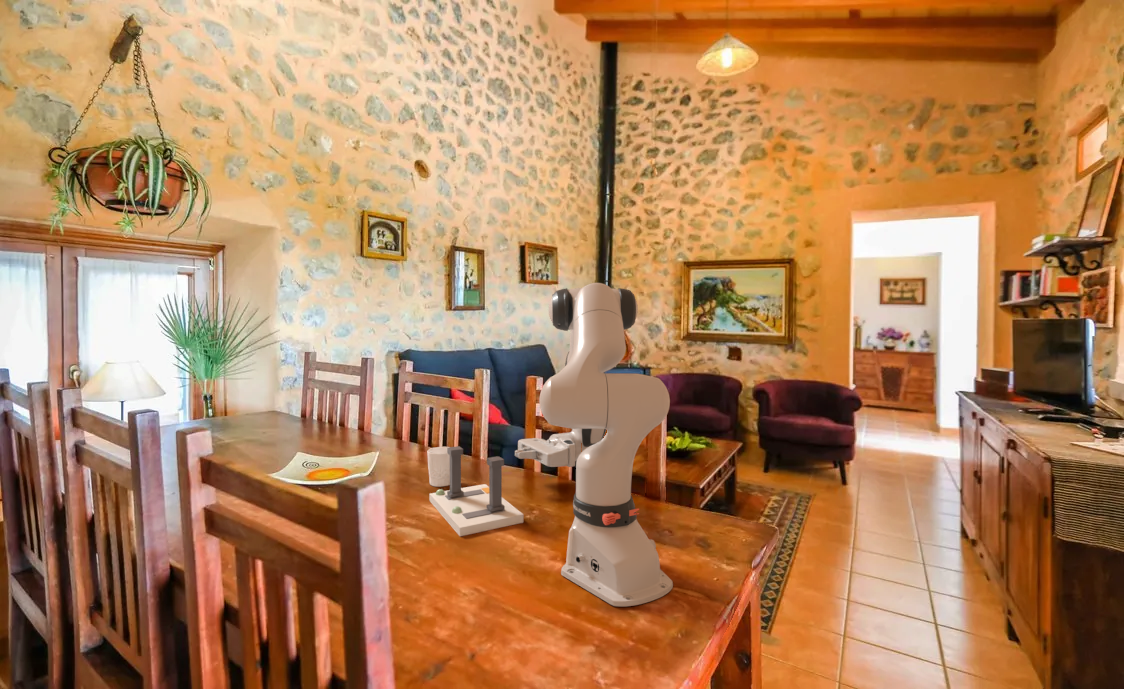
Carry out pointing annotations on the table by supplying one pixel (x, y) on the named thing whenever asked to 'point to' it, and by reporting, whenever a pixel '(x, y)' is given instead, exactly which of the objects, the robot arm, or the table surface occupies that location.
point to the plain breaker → (495, 483)
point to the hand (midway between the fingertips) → (516, 454)
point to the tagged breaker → (455, 471)
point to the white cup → (439, 466)
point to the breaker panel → (473, 510)
